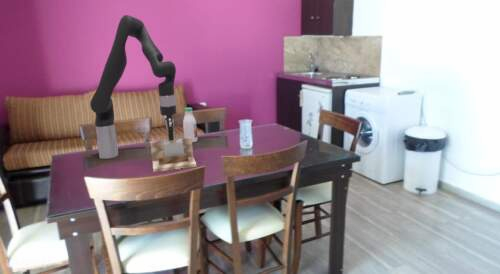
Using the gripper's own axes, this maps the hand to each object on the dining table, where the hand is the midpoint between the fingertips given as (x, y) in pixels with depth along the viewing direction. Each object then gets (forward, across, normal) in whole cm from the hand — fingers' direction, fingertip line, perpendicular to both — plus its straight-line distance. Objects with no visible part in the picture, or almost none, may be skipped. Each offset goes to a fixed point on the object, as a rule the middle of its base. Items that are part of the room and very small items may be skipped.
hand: (171, 139), depth 188 cm
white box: (+8, 0, +1) cm, 8 cm away
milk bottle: (+12, -37, +13) cm, 41 cm away
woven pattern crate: (+12, +3, 0) cm, 12 cm away
